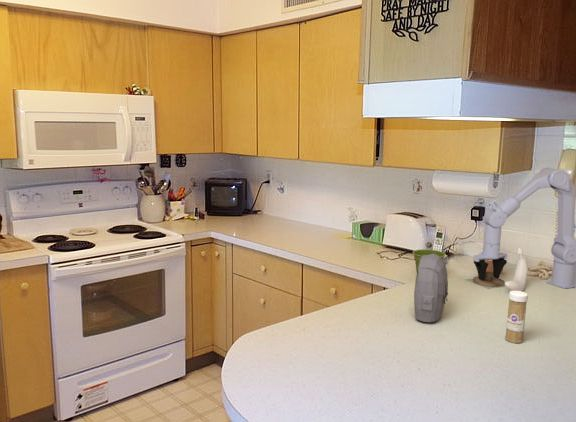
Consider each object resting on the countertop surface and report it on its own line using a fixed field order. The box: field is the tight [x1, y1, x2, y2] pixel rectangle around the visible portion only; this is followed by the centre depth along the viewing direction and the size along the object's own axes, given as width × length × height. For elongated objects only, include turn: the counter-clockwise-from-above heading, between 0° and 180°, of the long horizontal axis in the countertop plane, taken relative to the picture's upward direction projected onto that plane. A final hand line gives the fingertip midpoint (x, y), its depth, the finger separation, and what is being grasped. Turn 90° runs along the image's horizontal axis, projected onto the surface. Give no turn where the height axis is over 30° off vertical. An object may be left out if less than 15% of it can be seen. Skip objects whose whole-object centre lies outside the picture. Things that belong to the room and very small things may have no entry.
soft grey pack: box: [413, 254, 449, 323], centre depth 152 cm, size 15×8×20 cm, turn 152°
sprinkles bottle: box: [504, 291, 529, 344], centre depth 138 cm, size 5×5×14 cm
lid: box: [472, 272, 506, 288], centre depth 190 cm, size 11×11×4 cm
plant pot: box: [412, 248, 447, 273], centre depth 190 cm, size 12×12×11 cm
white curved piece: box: [504, 246, 529, 292], centre depth 180 cm, size 5×19×15 cm, turn 146°
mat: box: [464, 278, 506, 290], centre depth 191 cm, size 12×12×1 cm
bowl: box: [485, 260, 504, 275], centre depth 205 cm, size 8×8×4 cm
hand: (488, 278), depth 190 cm, fingers open, 6 cm apart
